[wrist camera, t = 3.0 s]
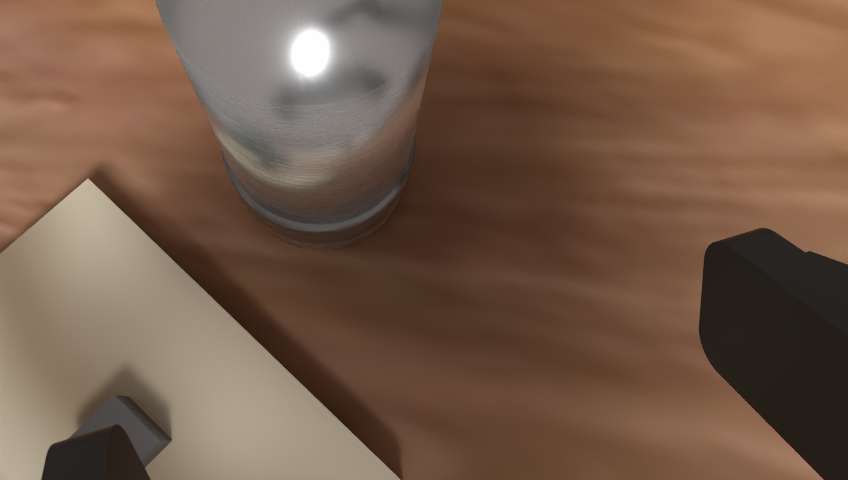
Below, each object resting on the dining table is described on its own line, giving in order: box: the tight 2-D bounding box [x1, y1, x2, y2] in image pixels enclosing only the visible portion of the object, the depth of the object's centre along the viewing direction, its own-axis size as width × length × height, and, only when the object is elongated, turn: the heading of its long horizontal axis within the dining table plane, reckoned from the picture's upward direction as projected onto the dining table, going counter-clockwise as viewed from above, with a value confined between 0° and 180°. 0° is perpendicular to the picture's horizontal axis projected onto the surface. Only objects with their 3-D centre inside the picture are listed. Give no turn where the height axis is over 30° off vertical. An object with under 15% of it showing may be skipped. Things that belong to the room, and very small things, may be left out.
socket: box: [156, 0, 443, 250], centre depth 17 cm, size 5×5×10 cm
